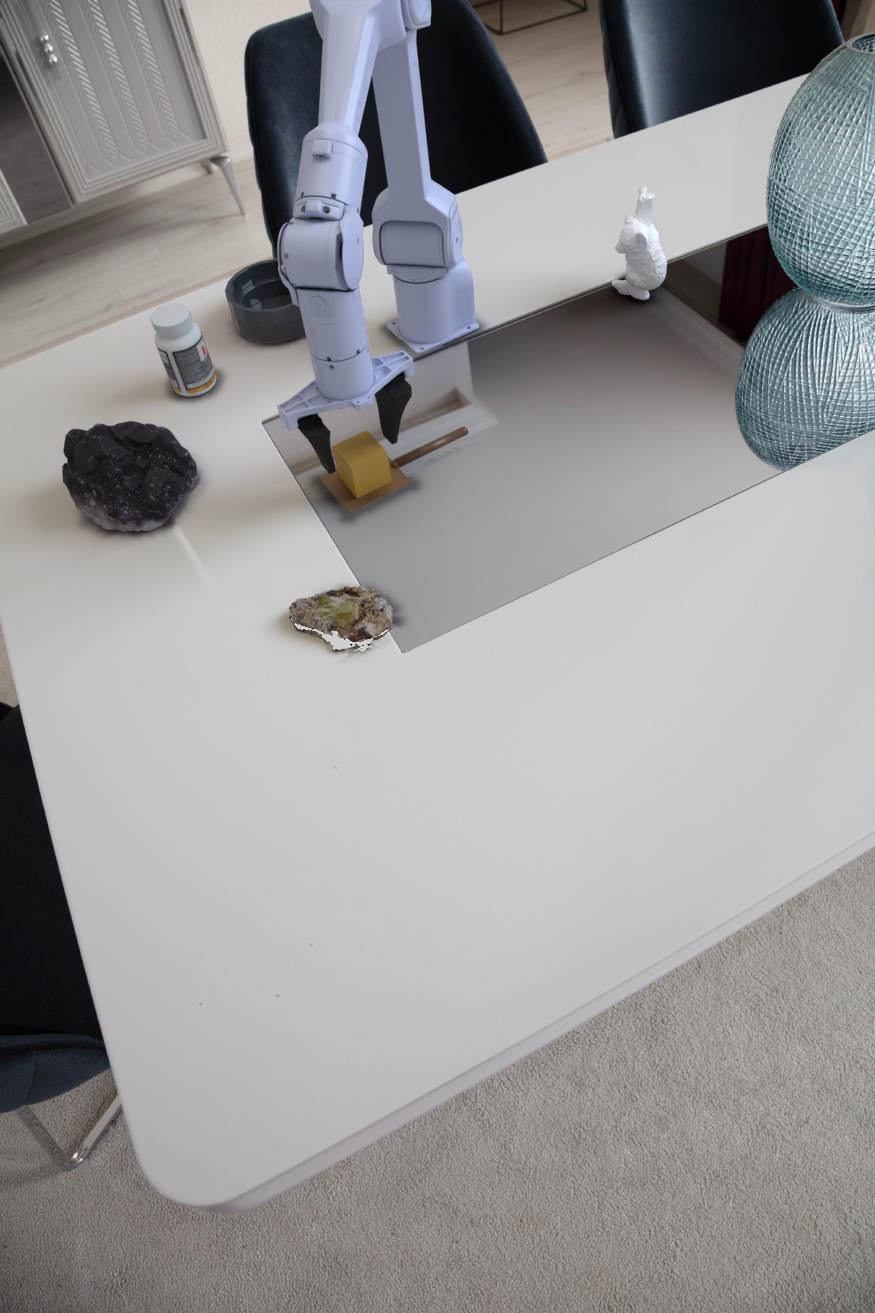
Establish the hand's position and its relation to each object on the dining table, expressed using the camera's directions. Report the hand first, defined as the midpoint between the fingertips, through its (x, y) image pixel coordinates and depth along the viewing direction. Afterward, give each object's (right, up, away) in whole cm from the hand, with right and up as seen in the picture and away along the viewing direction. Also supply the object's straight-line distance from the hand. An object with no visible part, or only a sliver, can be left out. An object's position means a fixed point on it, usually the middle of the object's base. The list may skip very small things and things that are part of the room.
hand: (359, 453), depth 99 cm
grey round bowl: (-13, +23, +24) cm, 36 cm away
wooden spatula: (+4, 0, +5) cm, 7 cm away
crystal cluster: (-25, -4, +6) cm, 26 cm away
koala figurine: (+34, +26, +21) cm, 48 cm away
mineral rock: (-1, -19, -8) cm, 20 cm away
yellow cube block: (0, -2, +3) cm, 4 cm away
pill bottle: (-22, +12, +17) cm, 31 cm away
